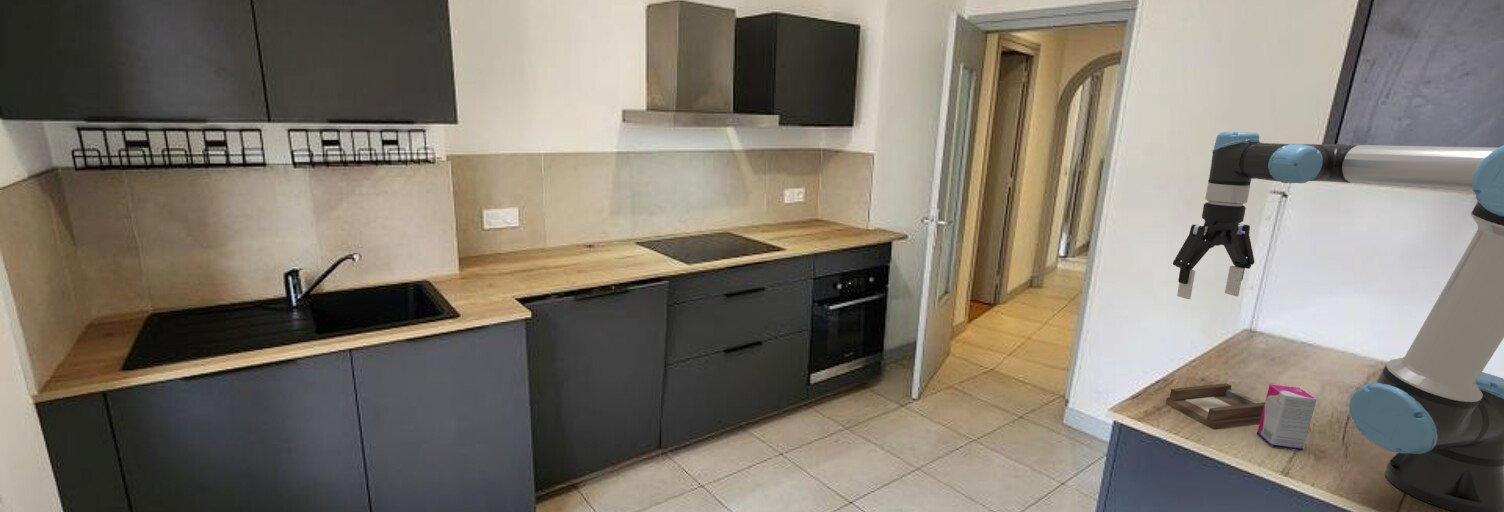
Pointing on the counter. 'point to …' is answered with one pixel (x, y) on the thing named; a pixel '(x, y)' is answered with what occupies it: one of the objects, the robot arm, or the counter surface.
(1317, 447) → the counter surface
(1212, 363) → the counter surface
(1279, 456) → the counter surface
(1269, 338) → the counter surface
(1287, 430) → the supplement box
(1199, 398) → the brown wooden tray
